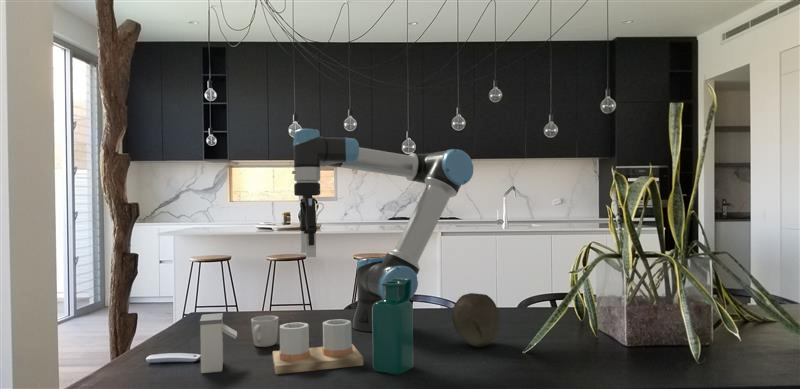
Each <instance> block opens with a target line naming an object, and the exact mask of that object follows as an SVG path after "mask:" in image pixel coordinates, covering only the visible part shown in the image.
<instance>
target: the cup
mask: <svg viewBox="0 0 800 389" xmlns="http://www.w3.org/2000/svg"><path fill="white" fill-rule="evenodd" d="M279 320H280V319H279V316H277V315H258V316H255V317H252V318H251V319H250V323H251V332H252V333H251V334H252V340H253V344H254V346H256V347H258V348H267V347H272V346H275V344H277V341H278V332H279V322H280V321H279Z"/></svg>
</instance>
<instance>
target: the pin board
mask: <svg viewBox="0 0 800 389" xmlns="http://www.w3.org/2000/svg"><path fill="white" fill-rule="evenodd" d="M352 348H353V353H351V354H348V355H346V356H337V357H332V356H325V355H324V354H323V352H322V346H319V347H318V346H317V347H316V346H315V347H309V350H310V357H308V358H305V359H303V360H295V361H286V360H280V357H279V350H273V351H272V362H273V367H274V373H275V375H282V374H290V373H301V372H313V371H319V370H330V369H331V370H332V369H341V368H348V367H349V368H350V367H359V366H361V367H362V366H364V356H362V354H361V352H360V351H359V350H358V349H357V348H356V346H355V345H354V344H353V343H352Z"/></svg>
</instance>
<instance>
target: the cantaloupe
mask: <svg viewBox="0 0 800 389" xmlns="http://www.w3.org/2000/svg"><path fill="white" fill-rule="evenodd" d="M451 317H452V324H453V328H454V331H456V333H457V335H458V336H459V337H460V338H461V339H462V340H463V341H464V342H465V343H467V344H468V345H470V346H473V347H477V348H482V347H486V346H489V345H490V344H492V342H494V340H495V339H496V337H497V335H498V333H499V329H500V326H501V315H500V312H499V308H498V306H497V305H496V303H495V301H494V300H493V299H492V298H491V297H490V296H489V295H488V294H484V293H476V292H475V293H473V292H470V293H467V294H465V293H464V294H463V295H461V296H460V297H458V298H457V301H456V302H455V304H454V306H453V308H452V315H451Z"/></svg>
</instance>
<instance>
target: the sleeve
mask: <svg viewBox="0 0 800 389" xmlns="http://www.w3.org/2000/svg"><path fill="white" fill-rule="evenodd" d="M309 328H310V326H309V324H308V323H306V322H300V321H299V322H287V323H283V324H280V325H279V350H278V351H279V357H280V360H286V361H295V360H303V359H305V358H308V357H310V350H309V348H310V337H309V336H310V332H309V330H310V329H309Z"/></svg>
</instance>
